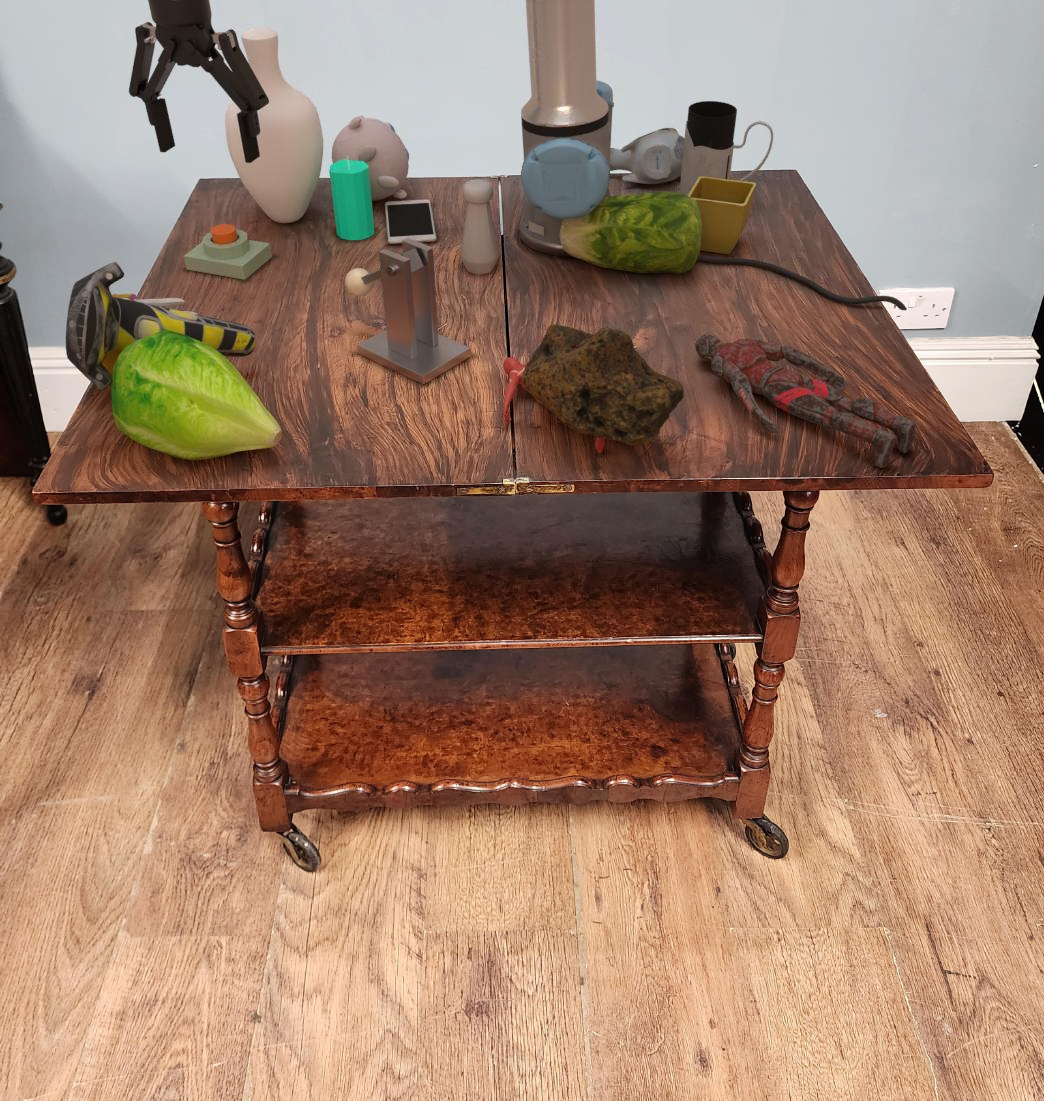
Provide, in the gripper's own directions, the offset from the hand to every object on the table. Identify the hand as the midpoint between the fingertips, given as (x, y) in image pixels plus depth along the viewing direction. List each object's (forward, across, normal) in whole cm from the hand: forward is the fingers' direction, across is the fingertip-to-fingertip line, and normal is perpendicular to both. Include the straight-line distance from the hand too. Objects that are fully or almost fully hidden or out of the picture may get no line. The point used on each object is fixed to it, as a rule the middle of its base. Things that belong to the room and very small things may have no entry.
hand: (209, 154), depth 151 cm
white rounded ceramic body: (+12, -53, -46) cm, 71 cm away
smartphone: (+17, -20, -21) cm, 34 cm away
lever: (+8, -33, +14) cm, 37 cm away
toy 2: (+13, -11, +25) cm, 30 cm away
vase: (+16, 0, -17) cm, 23 cm away
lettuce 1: (+16, -20, +38) cm, 46 cm away
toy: (+10, -13, -22) cm, 28 cm away
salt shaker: (+17, -36, -10) cm, 41 cm away
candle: (+17, -13, -16) cm, 26 cm away
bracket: (+17, -36, +16) cm, 43 cm away
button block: (+16, 0, 0) cm, 17 cm away
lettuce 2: (+17, -56, -18) cm, 62 cm away
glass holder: (+17, -65, -44) cm, 80 cm away
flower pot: (+17, -67, -29) cm, 75 cm away
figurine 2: (+15, -98, +20) cm, 101 cm away
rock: (+8, -72, +31) cm, 79 cm away
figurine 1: (+16, -67, +26) cm, 74 cm away
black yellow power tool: (+5, -20, +38) cm, 43 cm away
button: (+13, 0, 0) cm, 13 cm away
